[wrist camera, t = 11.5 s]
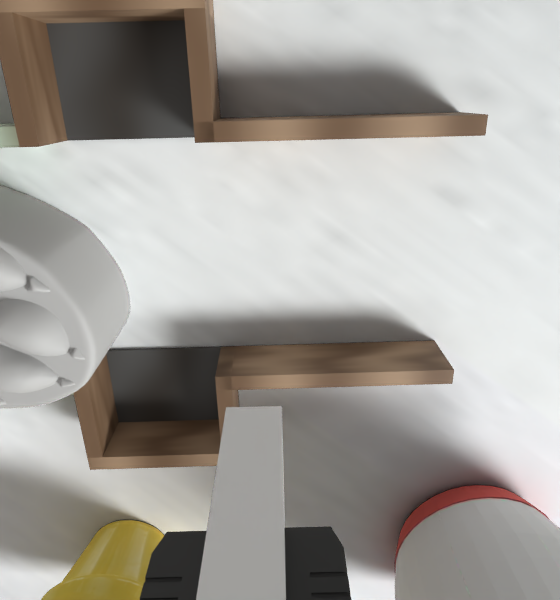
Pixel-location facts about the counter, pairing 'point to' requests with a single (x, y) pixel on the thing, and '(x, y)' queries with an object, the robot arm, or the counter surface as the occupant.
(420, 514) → the citrus juicer
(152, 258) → the counter surface
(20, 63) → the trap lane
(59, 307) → the lumpy-topped squat cylinder
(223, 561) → the robot arm
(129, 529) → the plant pot
